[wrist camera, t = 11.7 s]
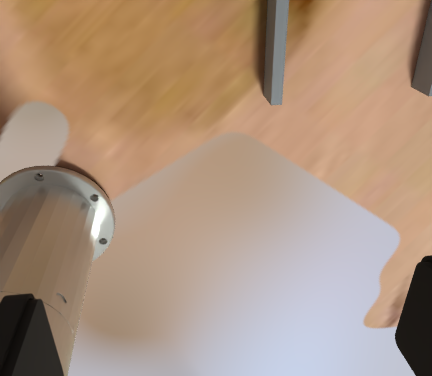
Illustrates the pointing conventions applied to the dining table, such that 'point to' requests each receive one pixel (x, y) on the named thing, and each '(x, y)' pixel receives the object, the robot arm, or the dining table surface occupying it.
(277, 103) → the lane box
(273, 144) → the dining table surface
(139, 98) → the dining table surface
